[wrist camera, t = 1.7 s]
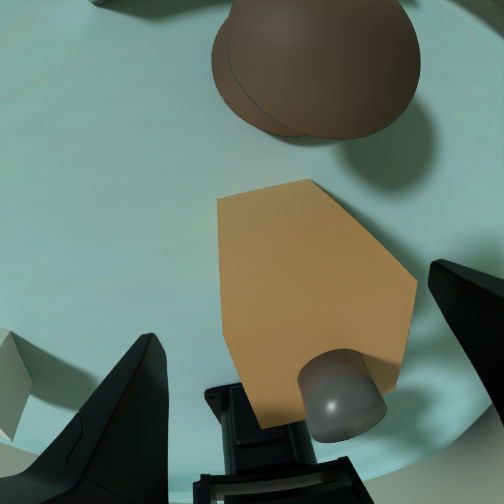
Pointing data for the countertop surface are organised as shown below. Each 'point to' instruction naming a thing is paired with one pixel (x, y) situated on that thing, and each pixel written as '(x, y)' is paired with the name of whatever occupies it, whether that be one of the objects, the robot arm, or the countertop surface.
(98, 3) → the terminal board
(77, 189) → the countertop surface
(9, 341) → the white cube
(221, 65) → the bobbin
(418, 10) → the countertop surface
